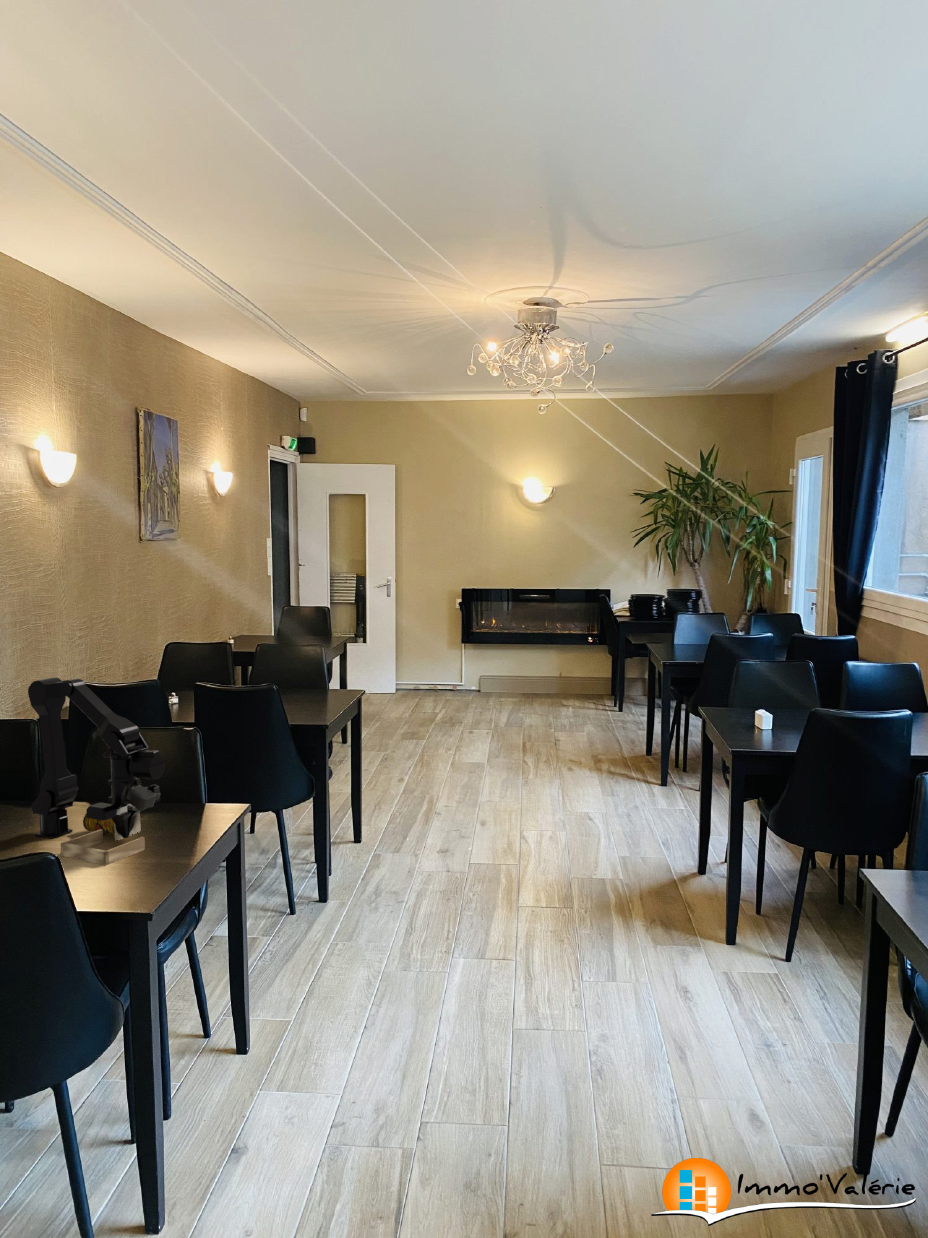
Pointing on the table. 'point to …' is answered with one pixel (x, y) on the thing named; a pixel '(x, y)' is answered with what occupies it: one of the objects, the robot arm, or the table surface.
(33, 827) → the table surface
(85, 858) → the wooden bracket
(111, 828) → the condiment
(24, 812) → the table surface
